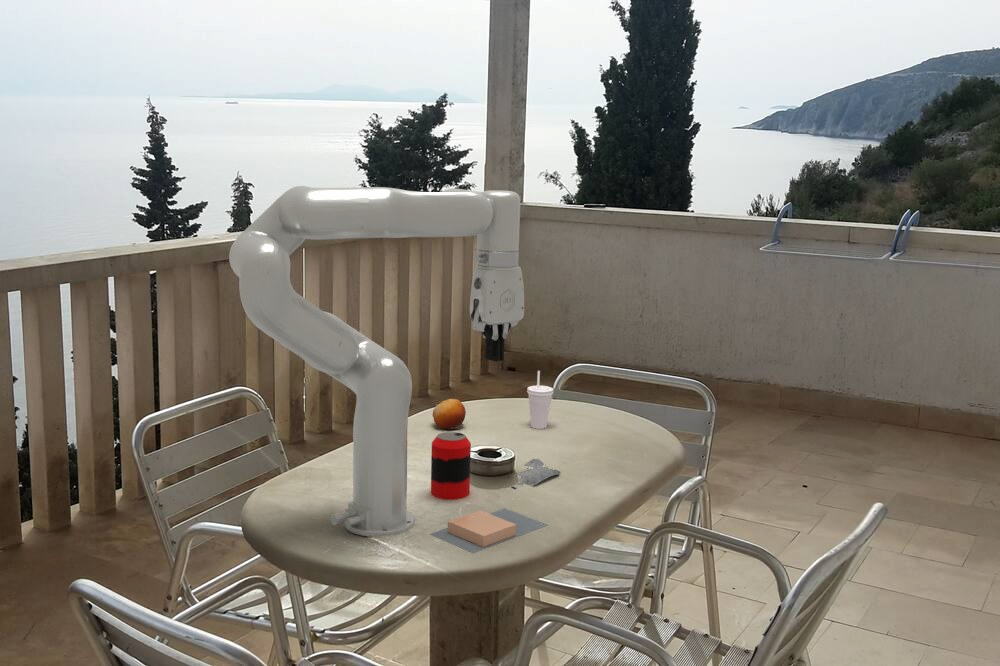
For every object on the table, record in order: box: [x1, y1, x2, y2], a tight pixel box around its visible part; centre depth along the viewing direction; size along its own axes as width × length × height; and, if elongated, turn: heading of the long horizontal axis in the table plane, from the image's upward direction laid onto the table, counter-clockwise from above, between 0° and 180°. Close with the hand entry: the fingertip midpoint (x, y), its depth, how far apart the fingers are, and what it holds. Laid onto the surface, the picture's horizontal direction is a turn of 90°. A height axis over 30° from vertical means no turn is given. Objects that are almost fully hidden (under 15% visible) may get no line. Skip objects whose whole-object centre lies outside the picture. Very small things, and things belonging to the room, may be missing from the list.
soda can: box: [430, 431, 472, 501], centre depth 196 cm, size 8×8×12 cm
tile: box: [447, 509, 516, 547], centre depth 177 cm, size 2×9×8 cm
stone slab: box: [511, 458, 561, 490], centre depth 210 cm, size 18×2×10 cm
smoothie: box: [526, 370, 554, 430], centre depth 245 cm, size 6×6×14 cm
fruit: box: [432, 398, 467, 431], centre depth 243 cm, size 8×8×8 cm
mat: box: [429, 508, 549, 554], centre depth 179 cm, size 19×11×1 cm, turn 136°
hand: (494, 359), depth 184 cm, fingers closed
